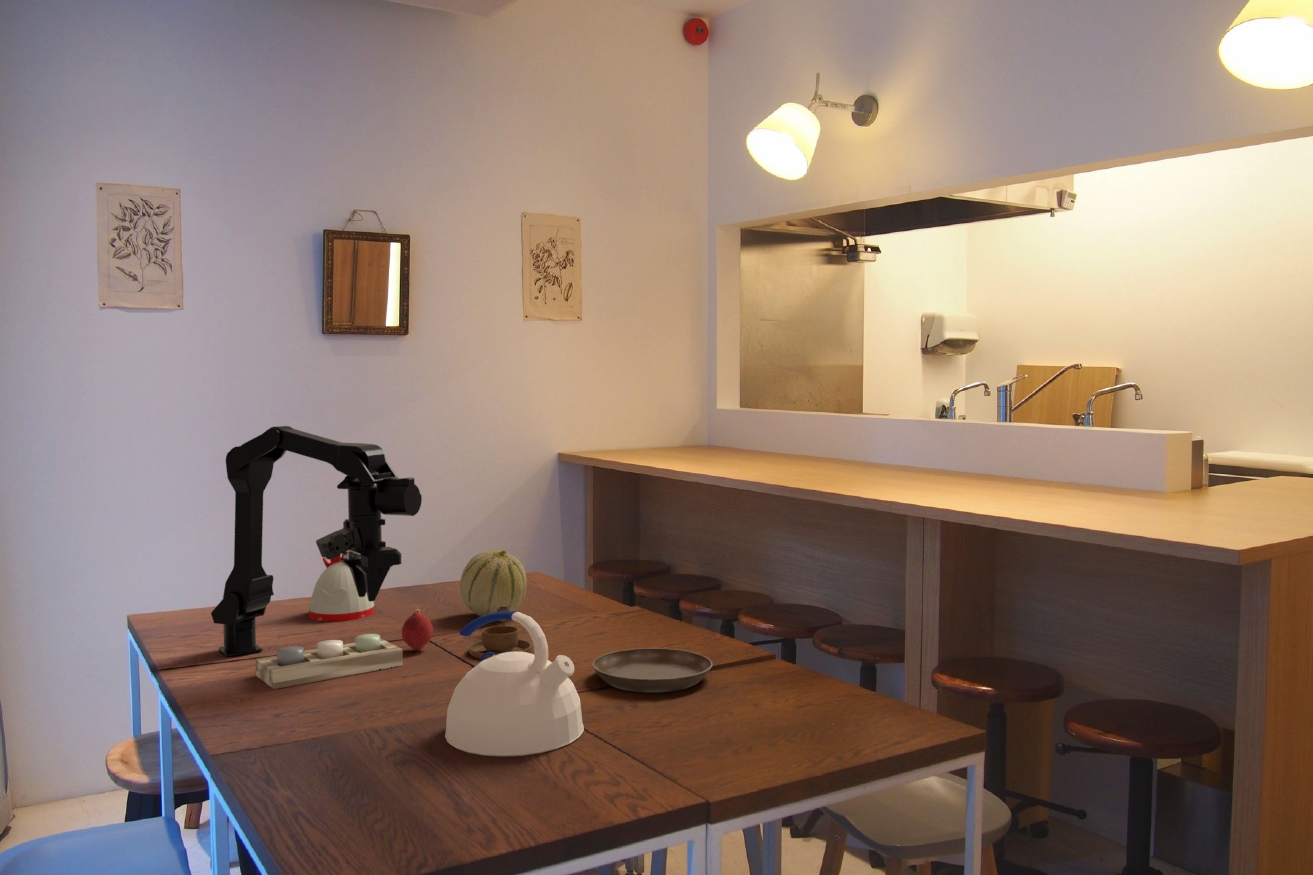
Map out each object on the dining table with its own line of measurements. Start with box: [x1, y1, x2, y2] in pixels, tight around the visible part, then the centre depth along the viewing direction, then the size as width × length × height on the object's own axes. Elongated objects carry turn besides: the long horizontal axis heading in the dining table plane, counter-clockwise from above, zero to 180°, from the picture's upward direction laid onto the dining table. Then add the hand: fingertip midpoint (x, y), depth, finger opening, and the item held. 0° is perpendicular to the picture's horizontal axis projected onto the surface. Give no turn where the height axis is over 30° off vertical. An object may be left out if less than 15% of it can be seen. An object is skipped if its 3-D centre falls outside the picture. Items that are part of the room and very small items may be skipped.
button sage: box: [354, 633, 381, 653], centre depth 188 cm, size 4×4×2 cm
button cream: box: [316, 639, 344, 659], centre depth 184 cm, size 4×4×2 cm
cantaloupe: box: [459, 549, 528, 617], centre depth 225 cm, size 15×15×15 cm
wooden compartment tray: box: [255, 638, 404, 690], centre depth 184 cm, size 10×23×3 cm, turn 127°
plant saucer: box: [592, 647, 713, 694], centre depth 177 cm, size 21×21×3 cm
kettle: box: [444, 610, 585, 758], centre depth 151 cm, size 20×21×18 cm
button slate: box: [276, 645, 305, 666], centre depth 179 cm, size 4×4×2 cm
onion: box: [401, 608, 434, 652], centre depth 197 cm, size 6×6×8 cm
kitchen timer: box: [308, 553, 375, 622], centre depth 229 cm, size 14×14×15 cm
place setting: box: [468, 607, 533, 660], centre depth 199 cm, size 18×20×6 cm
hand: (366, 598), depth 187 cm, fingers open, 4 cm apart
